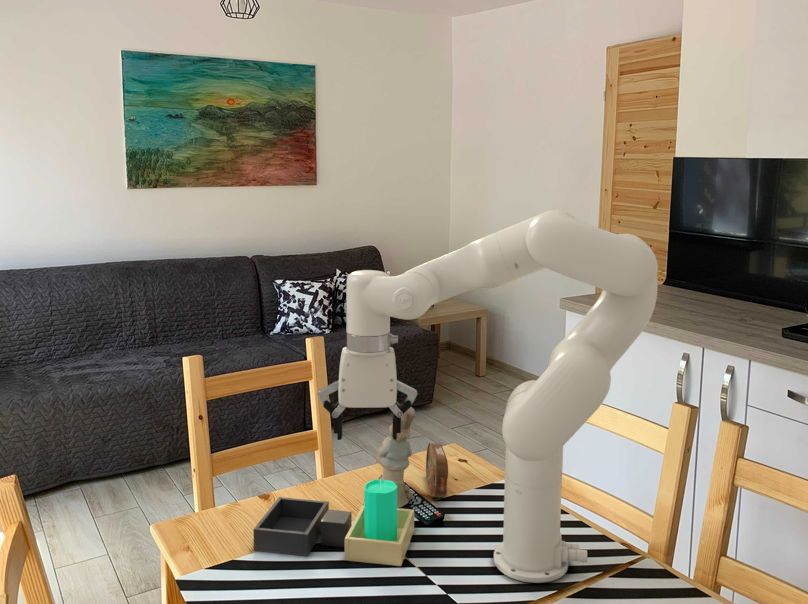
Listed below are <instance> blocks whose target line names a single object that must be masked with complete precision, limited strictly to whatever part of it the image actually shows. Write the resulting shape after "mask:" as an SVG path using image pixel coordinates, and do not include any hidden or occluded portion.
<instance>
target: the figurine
mask: <svg viewBox="0 0 808 604" xmlns="http://www.w3.org/2000/svg"><path fill="white" fill-rule="evenodd" d="M415 417H416V410H415V408H413V407H412V406H411V407H410V408H409V409H408V410H407V411H406V412H405V413H404V414H403V416H402V417H401V433H397V440H394V439H393V434H392V430H393V420H392V424H390V425H389V427H388V429H389V430H388V431H389V435H388V436H387V437H385V438H384V439H383V440H382V442H381V443H380V444H379V447H378V449H377V451H376V453H377V454H376V456H375V463H377V464H379V465H380V466H381V467H382V474H380V475H379V476H378V478H377V479H380V478H381V480H386V481H393V482H394V483H395V484H396V485H397V508H402V507H404V506H405V505H407V504H408V503H409V501H410V500H411V499H413V498H414V493H413V492H412V491H411V490H410V489H411V488H410V486H409V485H406V483H405V482H404V474H405V470H406V469H407V468H409V466H410V460H409V457H412V454H413V451H412V447H411V443H410V440H409V438H410V437H411V425H412V423H413V421H414V419H415ZM412 496H413V497H412ZM407 497H408V498H407Z"/></svg>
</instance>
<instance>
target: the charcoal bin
mask: <svg viewBox="0 0 808 604" xmlns="http://www.w3.org/2000/svg"><path fill="white" fill-rule="evenodd" d="M327 510H330V502H329V501H325V500H315V499H304V498H295V497H294V498H292V497H281V496H279V497H278V498H277V499H276V500H275V502H274V503H272V505H271V506H270V508H269V509H268V511H266V513H265V514H264V515H263V516H262V518H261V519H260V520H259V522H258V523H257V524H256V525H255V527H254V528H253V551H255V552H263V553H264V552H265V553H272V554H273V553H275V554H283V555H292V556H300V557H308V556H309V555H310V553H311V552H312V550H313V548H314V547H315V545H316V543H318V540H319V539H320V538H321V520H322V518H323V517H324V515H325V514H326V512H327Z"/></svg>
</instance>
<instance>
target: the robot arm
mask: <svg viewBox="0 0 808 604" xmlns="http://www.w3.org/2000/svg"><path fill="white" fill-rule="evenodd" d="M545 269H548V270H550V271H553V272H555V273H557V274H559V275H562V276H564V277H567V278H570V279H573V280H575V281H578V282H580V283H583V284H585V285H586V284H587V285H589V286H592V287H595V288H597V289H600V290H601V292H600V295H599V296H598V298H597V300H596V301H595V303H594V304H593V305H592V306H591V308H589V310H588V311H587V313H586V314H585V315H584V316H583V317H582V318H581V319H580V321H579V322H578V323H577V324H576V325H575V326H574V327H573V328H572V329H571V330H570V332H569V333H568V334H567V335H566V336H565V337H564V338H563V339H562V340H561V341H560V342H559V343H558V344H557V345H556V346H555V347H554V348H553V350H552V352H551V353H550V356H549V358H548V364H547V368H546V369H545V370H544V371H543V373H542V374H541V375H540V376H539V377H538V378H537V379H532V380H526V381H524V382H521V383H520V384H518V385H517V387H515V388H514V389H513V391H512V392H511V393H510V395H509V397H508V399H507V402H506V405H505V410H504V414H503V418H502V419H503V420H502V424H501V427H502V428H501V433H502V438H503V441H504V444H505V458H504V459H505V460H504V491H503V492H504V493H503V494H504V495H503V501H504V502H503V527H502V529H503V533H502V534H503V535H502V542H501V543H500V544H498V545H497V546H496V547H495V549H494V551H493V563H494V565H495V567H496V568H497V570H498V571H500V572H501V573H502V574H504V575H505V576H507V577H508V578H511V579H514V580H516V581H520V582H524V583H528V584H529V583H530V584H532V583H533V584H545V583H549V582H553V581H557V580H559V579H561V578H562V577H563V576H564V575H565V574H566V573H567V571H568V569H569V561H573V562H577V563H588V550H587V549H580V543H576V542H566V541H565V540H563V539H562V532H561V517H562V490H563V489H562V487H563V466H564V465H563V464H564V446H565V445H566V444H567V442H569V440H571V438H573V436H574V435H575V434H576V433H577V432H578V431H579V430H580V429H581V428H582V427H583V425H584V424H586V422H587V421H588V420H589V419H590V418H591V417H592V416H593V415H594V414H595V412H597V410H598V409H599V408H600V407H601V406H602V404H603V402H604V401H605V399H606V398H607V396H608V394H609V391H610V388H611V382H612V376H611V371H612V369H613V368H614V366H615V365H616V364H617V363H618V361H619V360H621V358H622V357H623V356H624V355H625V353H626V352H627V351H628V350H629V349H630V347H631V346H632V345H633V344H634V342H635V341H636V340H637V339H638V338H639V337H640V335H641V334H642V333H643V331H644V330H645V329H646V327H647V325H648V324H649V322H650V320H651V318H652V316H653V313H654V311H655V308H656V305H657V304H656V303H657V298H658V289H659V288H658V287H659V286H658V284H659V283H658V272H659V264H658V259H657V256H656V254H655V253H654V251H653V250H652V248H651V247H650V246H649V245H648V243H646V242H645V241H644V240H643V239H642V238H641V237H639V236H637V235H634V234H631V233H618V234H617V233H614V232H611V231H608V230H606V229H602V228H599V227H597V226H594V225H591V224H588V223H587V222H584V221H581V220H579V219H577V218H575V216H574V215H573V214H571V213H570V212H568V211H566V210H563V209H551V210H547V211H544V212H541V213H538V214H537V215H534V216H532V217H529V218H527V219H525V220H522V221H519V222H518V223H515V224H512V225H510V226H508V227H505V228H503V229H500V230H498V231H496V232H493V233H491V234H488V235H486V236H483V237H481V238H479V239H476V240H473V241H472V242H471V241H470V243H468V244H466V245H465V246H463V247H461V248H459V249H456V250H454V251H451V252H448V253H446V254H444V255H441V256H439V257H436V258H434V259H432V260H428V261H427V262H424V263H422V264H420V265H417V266H415V267H413V268H411V269H408V270H406V271H405V272H403V273H402V274H399V275H394V276H393V275H388V273H386V272H385V271H382V270H373V269H362V270H355V271H352V272H351V273H349V274H348V275H347V277H346V287H345V289H346V299H345V300H346V305H345V306H346V307H345V308H346V309H345V310H346V314H345V315H346V318H345V319H346V322H345V323H346V326H345V327H346V331H345V332H346V334H345V335H346V337H345V339H346V340H345V342H346V343H345V345H346V346H344V347H343V348H342V350H341V354H340V359H339V360H340V361H339V370H338V380H336V381H334V382H332V383H329V384H328V385H326V386H324V387H322V388H320V389H318V391H317V396H318V399H319V401H320V402H321V404H322V406H323V408H324V409H325V410H326V411H327V412H328V414H330V415H331V417H332V418H333V434H336V435H337V437H336V439H337V441H341V440H342V439H343V412H344V411H345V410H346V409H347V408H350V409H351V408H353V409H355V408H358V409H359V408H362V409H363V408H364V409H365V408H368V409H369V408H370V409H371V408H372V409H373V408H376V409H377V408H379V409H380V408H389V409H390V411H391V412H392V421H393V422H392V423H393V430H392V434H393V439H394V440H397V433H401V417H402V416H403V414H404V413H405V412H406V411H407V410H408V409H409V408H410V407H412V405H413V403H414V402H415V400H416V398H417V396H418V390H417V389H415V388H413V387H412V386H410V385H408V384H406V383H404V382H402V381H400V380H398V379H397V362H396V361H397V359H396V354H395V349H394V348H393V347H392V345H394V344H399V335H395V334H392V333H391V318H395V319H400V320H408V321H409V320H411V321H412V320H416V319H418V318H420V317H422V316H423V315H424V314H426V312H427V311H428V310H429V309H430V308H431V307H432V306H434V305H437V304H438V303H441V302H443V301H445V300H448V299H451V298H452V297H456V296H459V295H461V294H463V293H467V292H469V291H473V290H478V289H487V290H488V289H489V290H490V289H491V290H492V289H496V288H499V287H502V286H505V285H507V284H510V283H513V282H515V281H517V280H519V279H522V278H525V277H528V276H529V275H532V274H534V273H537V272H539V271H543V270H545ZM398 391H399V392H401V393H403V394H405V395H407V396H406V398H405V399H404V400H403V401H402V402H401V403H399V402H398V401H397V398H398V397H397V396H398ZM335 392H337V395H338V397H337V398H338V401H337V403H336V404H335V403H334V402H333V401H332V400H331V399H330V398H329V395H331V394H333V393H335Z"/></svg>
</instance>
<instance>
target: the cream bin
mask: <svg viewBox="0 0 808 604" xmlns="http://www.w3.org/2000/svg"><path fill="white" fill-rule="evenodd" d="M414 532H415V509H414V508H413V509H412V508H402V507H399V508H397V542H395V541H385V540H375V539H365V538H364V504H362V505H361V507H360V508H359V511H358V513H357V515H356V516H355V518H354V520H353V522H352V526H351V528H350V530H349V531H348V533H347V535H346V537H345V548H344V561H347V562H357V563H365V564H366V563H367V564H375V565H384V566H385V565H386V566H394V567H395V566H396V567H402V565H403V563H404V560H405V556H406V554H407V551H408V548H409V545H410V543H411V540H412V537H413V534H414Z"/></svg>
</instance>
